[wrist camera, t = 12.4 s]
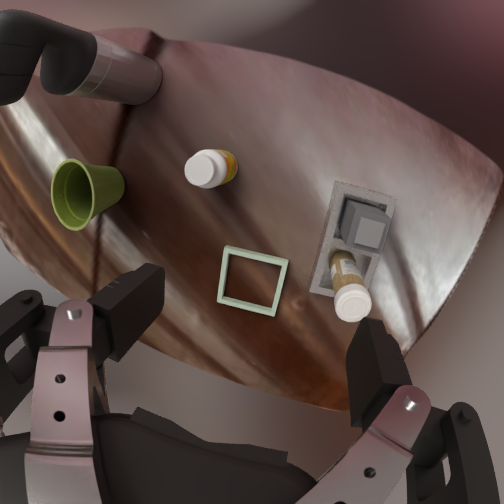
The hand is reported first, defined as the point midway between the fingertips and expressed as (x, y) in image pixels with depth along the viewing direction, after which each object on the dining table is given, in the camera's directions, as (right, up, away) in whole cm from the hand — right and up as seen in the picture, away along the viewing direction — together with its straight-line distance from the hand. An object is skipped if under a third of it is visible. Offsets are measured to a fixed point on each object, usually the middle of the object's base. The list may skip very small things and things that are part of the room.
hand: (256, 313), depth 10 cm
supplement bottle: (-5, +16, +31) cm, 35 cm away
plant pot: (-27, +15, +36) cm, 48 cm away
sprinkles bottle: (+14, +1, +32) cm, 35 cm away
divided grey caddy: (+15, +4, +31) cm, 35 cm away
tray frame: (0, -3, +37) cm, 37 cm away
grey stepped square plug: (+16, +8, +30) cm, 35 cm away
